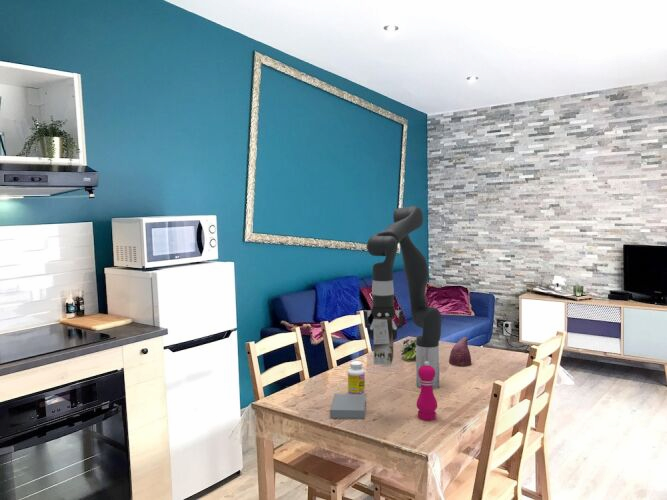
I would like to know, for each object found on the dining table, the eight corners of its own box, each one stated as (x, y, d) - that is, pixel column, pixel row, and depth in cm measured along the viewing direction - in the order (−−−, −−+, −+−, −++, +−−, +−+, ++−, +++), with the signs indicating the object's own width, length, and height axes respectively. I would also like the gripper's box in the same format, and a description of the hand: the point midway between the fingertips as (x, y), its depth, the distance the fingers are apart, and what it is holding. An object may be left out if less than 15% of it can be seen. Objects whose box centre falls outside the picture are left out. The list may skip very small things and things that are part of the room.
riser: (365, 402, 194) (365, 394, 194) (364, 418, 178) (364, 410, 178) (334, 401, 195) (334, 393, 195) (330, 418, 179) (330, 409, 179)
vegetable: (472, 369, 243) (481, 339, 242) (465, 372, 234) (474, 341, 233) (452, 360, 249) (460, 331, 247) (444, 363, 240) (453, 333, 239)
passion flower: (406, 367, 255) (409, 344, 261) (425, 366, 248) (428, 343, 254) (395, 359, 248) (398, 336, 254) (414, 358, 241) (417, 334, 247)
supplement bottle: (360, 398, 198) (359, 366, 197) (345, 395, 201) (344, 364, 200) (367, 393, 204) (367, 361, 203) (352, 390, 207) (352, 359, 206)
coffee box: (391, 365, 174) (391, 319, 173) (373, 364, 175) (372, 318, 174) (394, 358, 183) (393, 313, 182) (376, 357, 184) (375, 313, 183)
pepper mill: (414, 413, 182) (414, 358, 181) (434, 412, 183) (433, 358, 182) (419, 421, 175) (419, 364, 174) (439, 420, 176) (439, 363, 174)
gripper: (403, 291, 180) (403, 337, 182) (362, 291, 182) (363, 337, 183) (404, 294, 173) (404, 342, 174) (361, 294, 174) (362, 342, 176)
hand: (383, 339), depth 179 cm, fingers closed on coffee box, 6 cm apart
